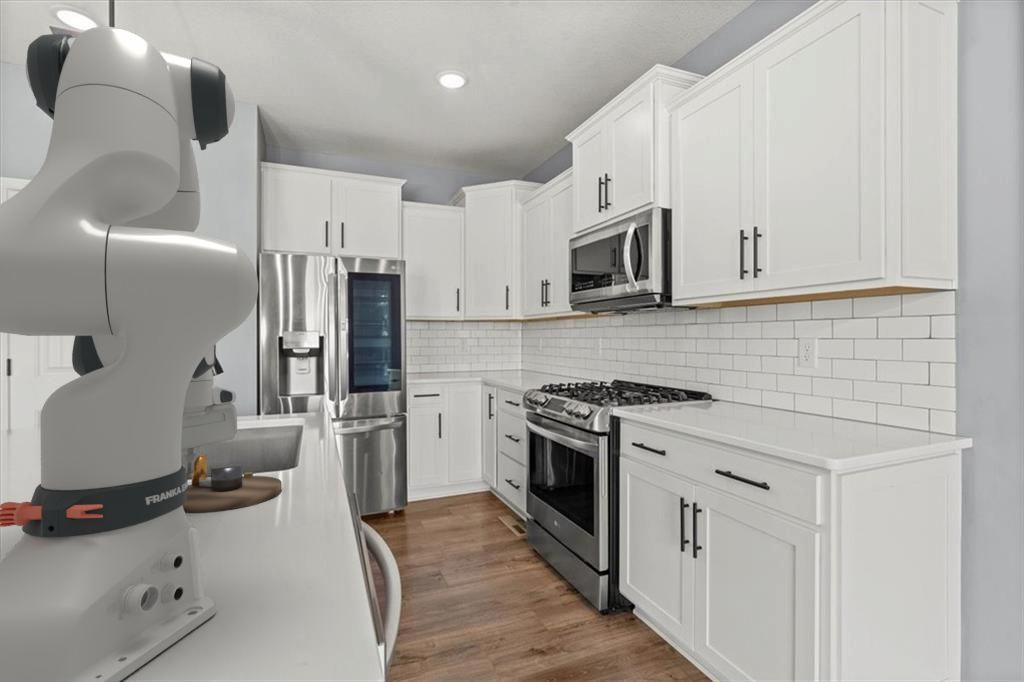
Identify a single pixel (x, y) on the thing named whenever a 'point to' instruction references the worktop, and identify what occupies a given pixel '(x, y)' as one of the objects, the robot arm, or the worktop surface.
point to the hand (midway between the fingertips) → (185, 473)
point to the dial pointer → (217, 475)
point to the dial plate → (232, 495)
